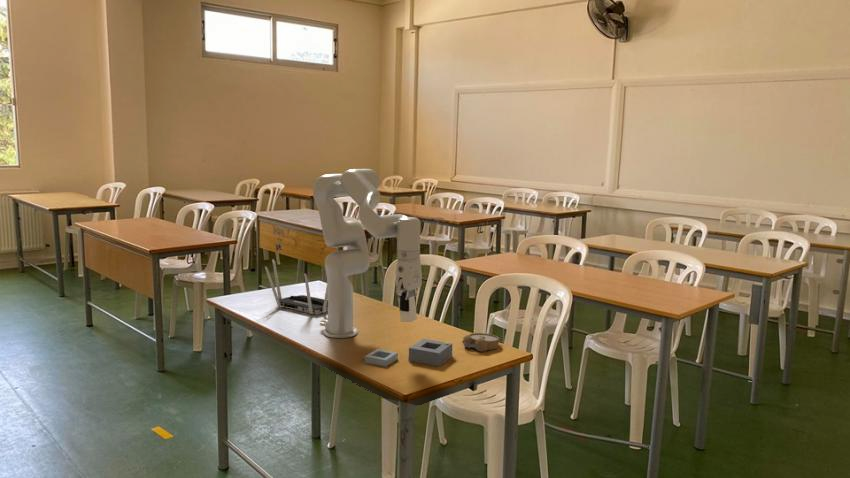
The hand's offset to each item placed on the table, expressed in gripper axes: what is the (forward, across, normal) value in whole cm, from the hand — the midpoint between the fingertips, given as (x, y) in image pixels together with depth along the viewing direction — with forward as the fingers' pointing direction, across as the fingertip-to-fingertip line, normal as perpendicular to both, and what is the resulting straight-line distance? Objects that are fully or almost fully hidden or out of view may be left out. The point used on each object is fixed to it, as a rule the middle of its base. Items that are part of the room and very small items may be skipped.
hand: (408, 308), depth 208 cm
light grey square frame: (+18, -5, +7) cm, 20 cm away
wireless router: (+17, +31, +68) cm, 77 cm away
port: (+18, +5, -6) cm, 20 cm away
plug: (+4, 0, 0) cm, 4 cm away
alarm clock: (+18, +25, -16) cm, 35 cm away
